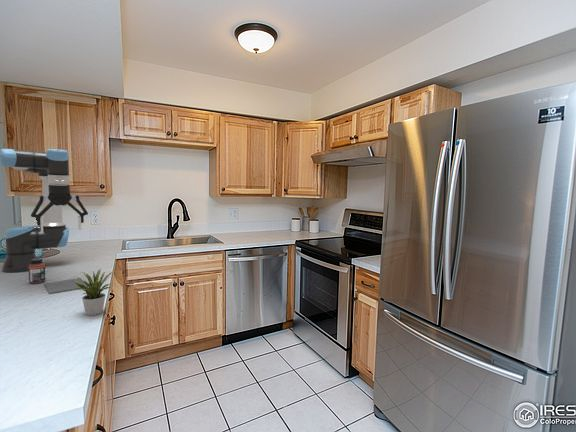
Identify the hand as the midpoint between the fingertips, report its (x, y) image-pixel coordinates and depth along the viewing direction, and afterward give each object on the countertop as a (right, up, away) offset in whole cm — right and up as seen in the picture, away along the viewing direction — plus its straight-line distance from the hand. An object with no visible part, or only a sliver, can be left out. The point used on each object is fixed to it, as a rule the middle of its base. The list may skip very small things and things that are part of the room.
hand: (61, 231), depth 131 cm
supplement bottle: (-16, -25, +6) cm, 30 cm away
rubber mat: (0, -26, +2) cm, 26 cm away
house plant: (+32, -29, -24) cm, 50 cm away
